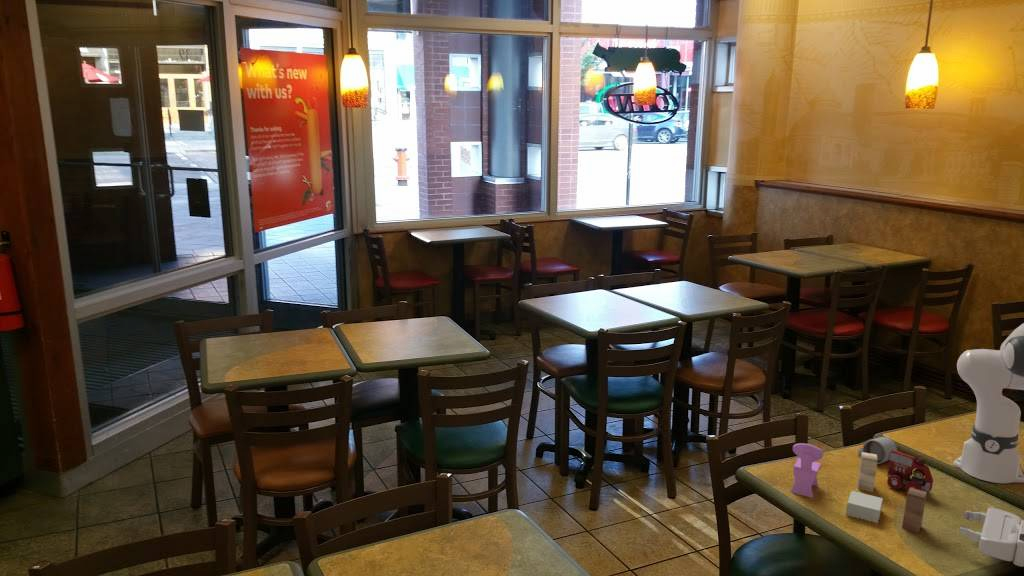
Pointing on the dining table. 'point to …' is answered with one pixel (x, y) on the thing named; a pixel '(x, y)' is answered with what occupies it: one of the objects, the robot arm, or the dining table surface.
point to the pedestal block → (864, 506)
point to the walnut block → (914, 510)
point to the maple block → (867, 471)
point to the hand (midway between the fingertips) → (962, 521)
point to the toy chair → (806, 468)
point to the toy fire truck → (908, 472)
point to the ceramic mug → (879, 448)
